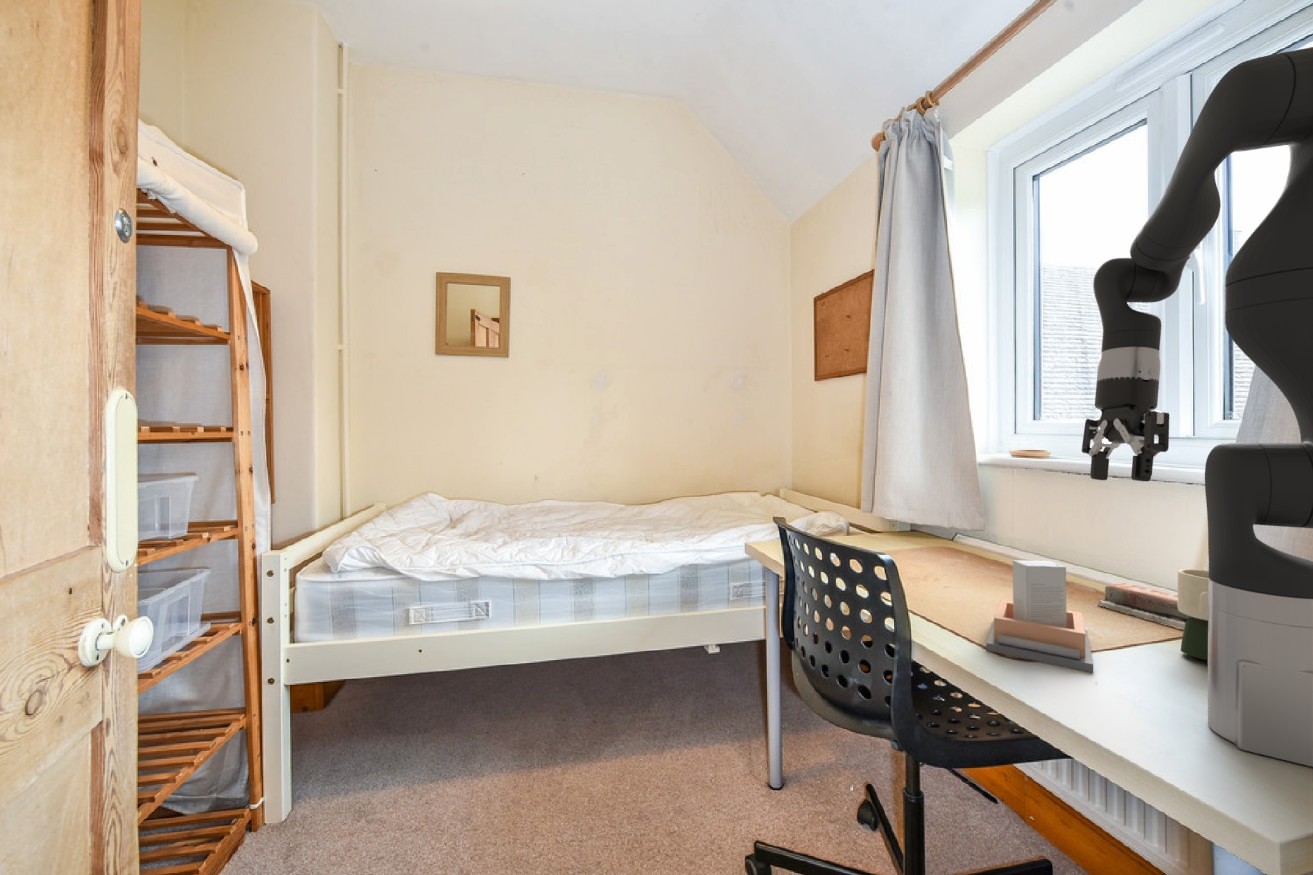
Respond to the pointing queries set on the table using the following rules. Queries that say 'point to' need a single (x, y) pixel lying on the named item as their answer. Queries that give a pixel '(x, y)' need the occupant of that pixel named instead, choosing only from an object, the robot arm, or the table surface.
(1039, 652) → the open rectangular holder tray
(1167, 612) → the packaged product
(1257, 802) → the table surface
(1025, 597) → the skincare box
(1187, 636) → the character mug
